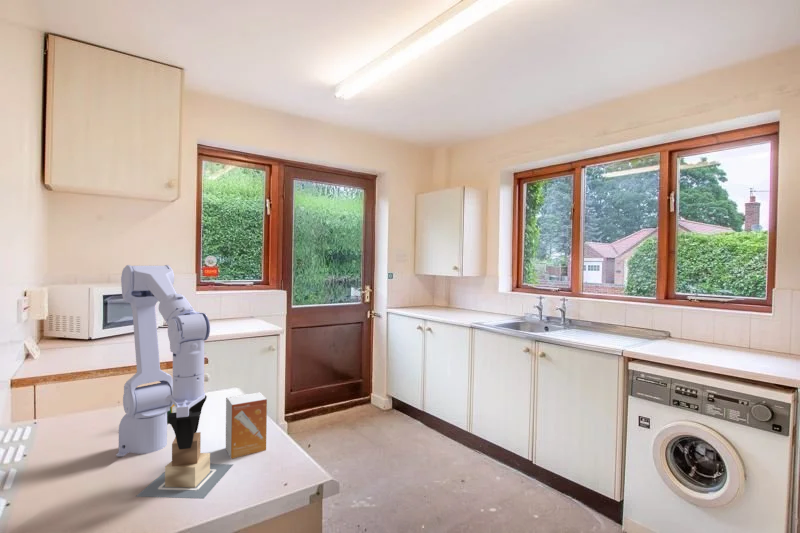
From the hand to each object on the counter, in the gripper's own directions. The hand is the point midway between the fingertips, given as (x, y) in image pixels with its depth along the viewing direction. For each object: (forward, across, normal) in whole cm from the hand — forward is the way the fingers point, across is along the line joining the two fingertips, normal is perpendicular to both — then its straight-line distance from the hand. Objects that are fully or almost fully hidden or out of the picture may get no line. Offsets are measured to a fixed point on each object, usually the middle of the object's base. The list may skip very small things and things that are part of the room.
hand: (188, 440), depth 85 cm
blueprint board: (+9, 0, 0) cm, 9 cm away
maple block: (+8, 0, 0) cm, 8 cm away
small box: (+9, -11, +11) cm, 18 cm away
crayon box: (+9, -40, -9) cm, 41 cm away
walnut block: (+4, 0, 0) cm, 4 cm away
